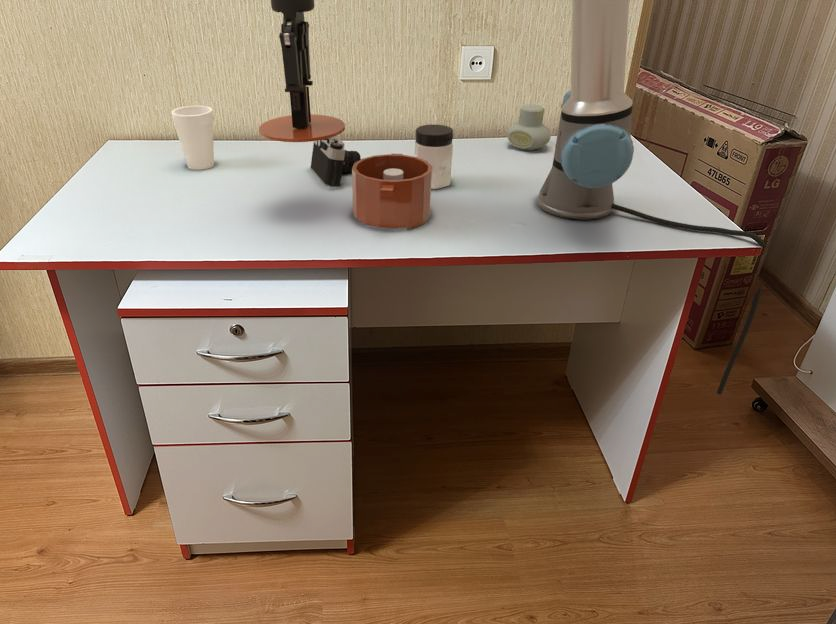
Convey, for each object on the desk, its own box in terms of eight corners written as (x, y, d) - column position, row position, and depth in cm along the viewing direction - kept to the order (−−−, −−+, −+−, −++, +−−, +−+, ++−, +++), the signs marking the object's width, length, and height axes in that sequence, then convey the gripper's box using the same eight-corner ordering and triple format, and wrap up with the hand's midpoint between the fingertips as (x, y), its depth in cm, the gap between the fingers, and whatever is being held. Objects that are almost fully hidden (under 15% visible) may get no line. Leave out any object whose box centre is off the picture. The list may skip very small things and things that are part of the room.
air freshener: (553, 147, 166) (560, 107, 160) (538, 155, 161) (543, 114, 155) (517, 139, 172) (522, 100, 166) (500, 146, 167) (505, 107, 161)
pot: (431, 197, 138) (434, 151, 133) (426, 238, 121) (429, 188, 116) (361, 194, 140) (360, 149, 134) (346, 234, 123) (344, 184, 117)
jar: (427, 192, 141) (429, 137, 134) (405, 181, 146) (407, 128, 139) (458, 184, 145) (462, 130, 138) (436, 173, 150) (439, 121, 143)
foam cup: (226, 166, 155) (218, 112, 148) (190, 174, 151) (180, 118, 143) (211, 156, 162) (202, 103, 154) (176, 163, 157) (165, 109, 150)
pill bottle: (387, 217, 128) (387, 177, 124) (377, 209, 132) (377, 169, 127) (408, 213, 130) (409, 173, 125) (398, 205, 133) (398, 166, 129)
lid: (351, 121, 129) (349, 75, 124) (337, 146, 116) (335, 96, 111) (271, 119, 131) (266, 74, 126) (249, 144, 117) (242, 95, 112)
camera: (366, 189, 146) (374, 146, 141) (321, 187, 142) (328, 142, 136) (346, 169, 157) (352, 128, 152) (304, 166, 153) (309, 123, 148)
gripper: (281, -20, 116) (292, 113, 129) (257, -10, 103) (272, 136, 116) (321, -20, 115) (328, 113, 128) (302, -11, 102) (312, 137, 116)
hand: (301, 124), depth 122 cm, fingers closed on lid, 3 cm apart
